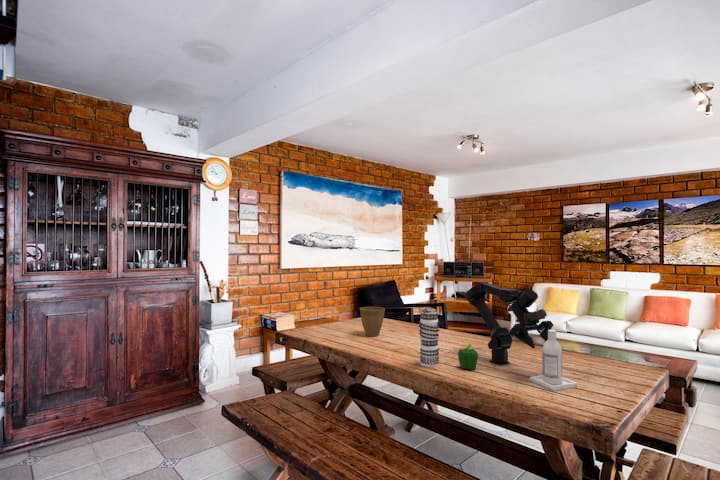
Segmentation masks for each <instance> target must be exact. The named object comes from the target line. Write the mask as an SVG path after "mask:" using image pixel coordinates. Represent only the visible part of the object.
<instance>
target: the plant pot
mask: <svg viewBox="0 0 720 480" xmlns="http://www.w3.org/2000/svg"><path fill="white" fill-rule="evenodd" d="M385 311H386V308H385V307H381V306H363V307H359V313H360V319H361V324H362V328H363V331H364V333H365V336H367V337H371V338H372V337H378V336H379V335H380V332H381V330H382V326H383V321H384V317H385Z"/></svg>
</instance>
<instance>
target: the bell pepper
mask: <svg viewBox="0 0 720 480" xmlns="http://www.w3.org/2000/svg"><path fill="white" fill-rule="evenodd" d="M470 347H472V344H471V343H470V344H468V345H467V347H465V348H459V349H458V351H457V352H458V353H457V355H458V356H457V357H458V363H459V366H460V367H461V369H463V370H464V369H466V370H468V369H469V370H474V369H476V367H477V363H478V359H479V358H478V357H479V354H478V351H476V350H475V349H474V348H470Z"/></svg>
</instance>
